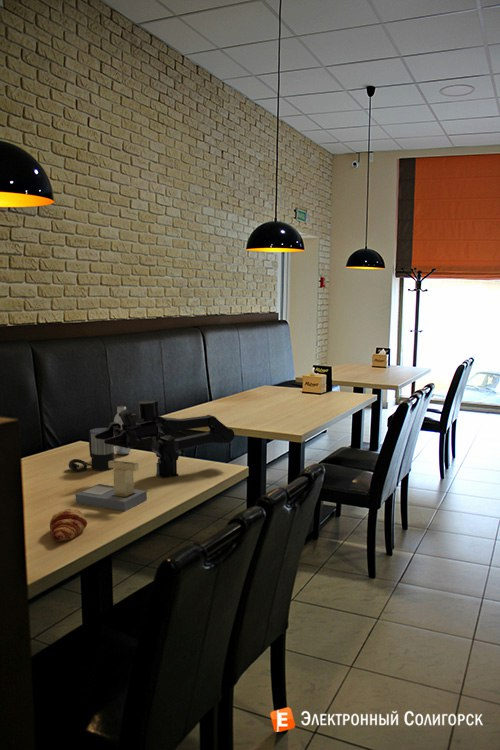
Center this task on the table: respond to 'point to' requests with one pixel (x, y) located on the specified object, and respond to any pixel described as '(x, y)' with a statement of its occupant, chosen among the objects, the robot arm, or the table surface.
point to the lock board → (109, 498)
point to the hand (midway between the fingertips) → (99, 439)
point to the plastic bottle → (118, 420)
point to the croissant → (67, 524)
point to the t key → (123, 478)
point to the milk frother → (96, 453)
